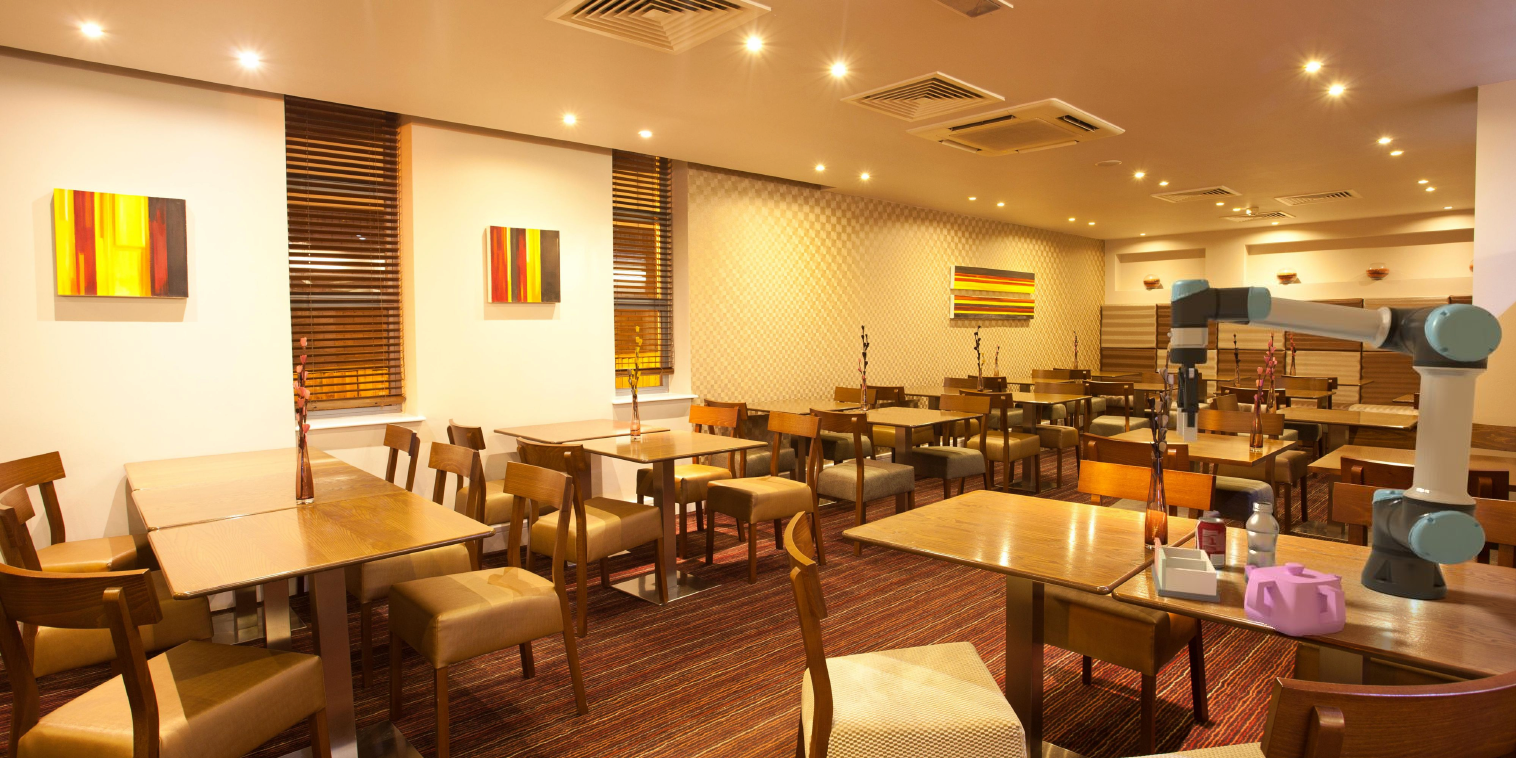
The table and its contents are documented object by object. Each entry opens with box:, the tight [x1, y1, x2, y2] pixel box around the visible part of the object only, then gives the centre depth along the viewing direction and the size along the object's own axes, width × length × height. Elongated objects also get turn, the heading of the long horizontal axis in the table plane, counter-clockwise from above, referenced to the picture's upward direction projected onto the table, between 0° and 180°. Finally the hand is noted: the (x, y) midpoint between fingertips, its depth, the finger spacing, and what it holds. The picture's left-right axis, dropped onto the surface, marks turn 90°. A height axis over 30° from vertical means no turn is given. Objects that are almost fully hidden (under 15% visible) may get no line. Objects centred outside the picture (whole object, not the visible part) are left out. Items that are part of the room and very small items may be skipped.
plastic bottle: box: [1243, 501, 1280, 586], centre depth 175 cm, size 6×7×20 cm
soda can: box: [1194, 516, 1227, 570], centre depth 194 cm, size 7×7×12 cm
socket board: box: [1150, 537, 1221, 604], centre depth 178 cm, size 12×20×8 cm, turn 156°
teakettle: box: [1243, 562, 1347, 637], centre depth 154 cm, size 17×17×12 cm
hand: (1186, 438), depth 177 cm, fingers open, 13 cm apart
